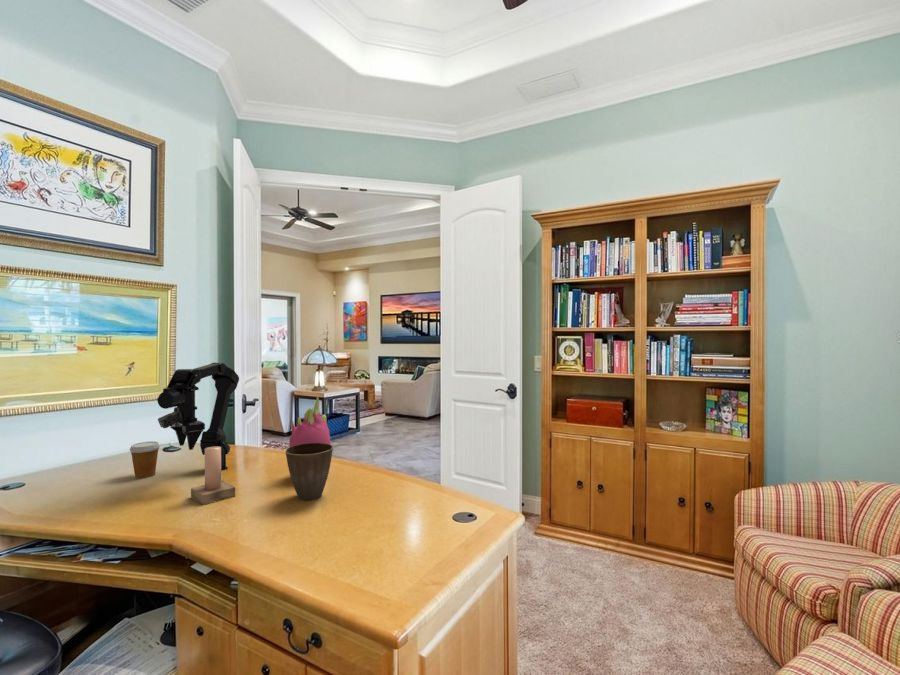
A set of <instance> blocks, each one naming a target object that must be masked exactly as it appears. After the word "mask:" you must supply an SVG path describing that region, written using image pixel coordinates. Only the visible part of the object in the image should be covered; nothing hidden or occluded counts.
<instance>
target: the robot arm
mask: <svg viewBox="0 0 900 675" xmlns="http://www.w3.org/2000/svg"><path fill="white" fill-rule="evenodd" d="M210 376H211V379H213V380H214V388H215V390H216V397H215V401H214V402H215V403H214V405H213V410H212V415H211V421H210V424H209V427H208V429H207V430H206V423H205V422H203V421H201V420H198V418H197V417H196V410H198V406H196V391H199V387H198V386H196V385H197V384H199V383H200V382H201V380H202V379H204V378H207V377H210ZM239 376H240V375H239V374H237V372H236V371H235V370H234V369H232V368H230V367H228V366H227V365H226V364H225V362H224V363H223V362H211V363H210V364H206V365H201V366H198V367H195V368H180V369H176V370H175V371H174V373H173V374H172V377H171V378H170V380H169V383H168V384H167V386H166V387H165V388H164V387H163V389H162V392H160V394H159V395H158V397H157V399H156V400H157V405H158V406H159V407H160V408H162V409H166V410H167V409H171V408H173V411H172V412H169V413H168V414H165V415H162V416H161V417H159V418H157V422H158V424H159V426H160V428H163V429H167V428H170V429H171V430H173V431H174V433H175V434H176V437H177V441H178V444H179V446H180V447H183V446H185V442H186V439H187V446H188V450H189V451H192V450H194V448H195V446H196V445H197V442H198V441H199V442H200V444H199V447H200V450H201V454H202V456H205V448H208V447H214V446H220V447H221V471H223V470H228V468H229V467H227V458H226V456H227V455H228V454H229V453H230V451H231V446H230V444H229V443H227V442H226V441H227V440H226V438H227V436H226V433H225V431H224V427H225V422H226V417H227V412H228V408H229V405H230V400H231V395H232V394H233V392H234V391H235V390H236V389H237V387H238V384H239V381H240V377H239ZM205 430H206V431H205ZM200 437H201V438H200ZM199 438H200V440H199Z"/></svg>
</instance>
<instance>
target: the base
mask: <svg viewBox="0 0 900 675" xmlns="http://www.w3.org/2000/svg"><path fill="white" fill-rule="evenodd" d="M232 496H234V497H236V487H235V486H234V485H232V484H230V483H228V482H226V481H224V480H221V487H220V488H218V489H213V490H206V489H205V484H203V485H199V486H195V487H191V488H190V498H191V499H193V500H194V501H196V502H198V503H199V504H200V505H202V506H203V504H204V505H207V503H208V504H210V503H211V502H212V503H215V502H214V501H216V502H218V500H219V501H222V500H221V499H223V500H226V499H225V498H227V499H230V498H233V497H232ZM229 497H230V498H229Z"/></svg>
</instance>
